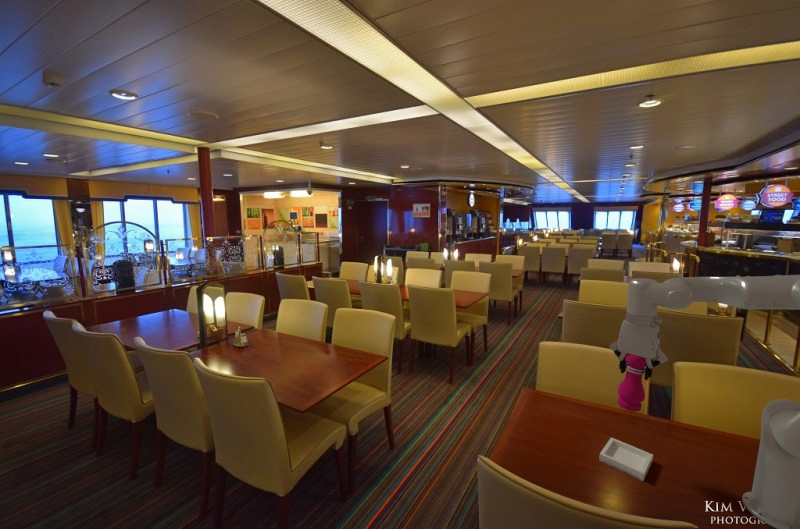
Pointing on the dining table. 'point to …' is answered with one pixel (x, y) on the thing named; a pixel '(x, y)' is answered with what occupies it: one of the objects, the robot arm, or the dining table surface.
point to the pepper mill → (632, 384)
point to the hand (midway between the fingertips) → (634, 374)
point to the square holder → (626, 458)
